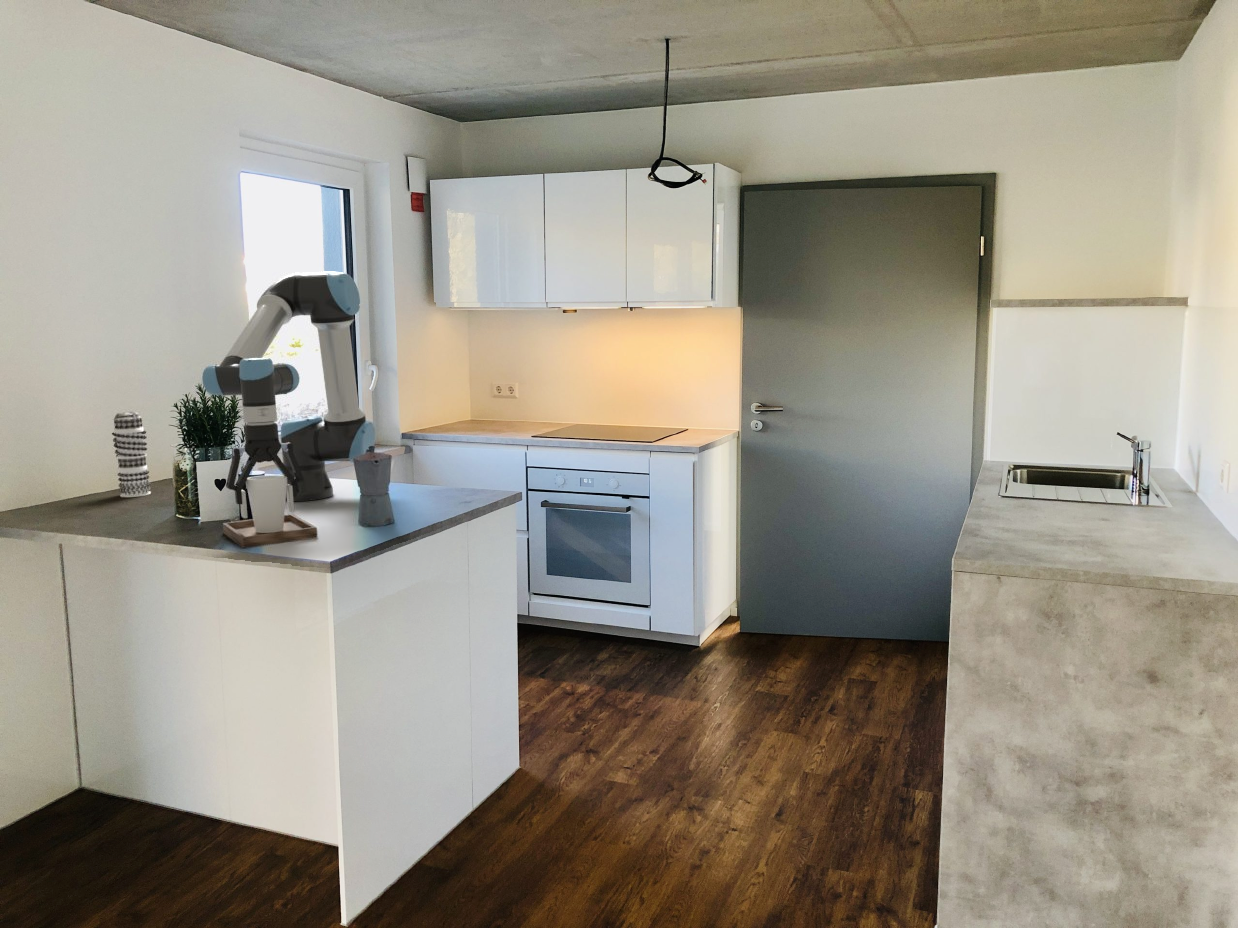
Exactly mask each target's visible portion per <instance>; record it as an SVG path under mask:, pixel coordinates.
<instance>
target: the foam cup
mask: <svg viewBox="0 0 1238 928" xmlns="http://www.w3.org/2000/svg"><path fill="white" fill-rule="evenodd" d="M245 486H246V487H245V489H247V493H248V499H249V505H250V509H251V515H252V519H253V521H254V526H255V529H256V532H258V533H272V532H279V531H282V530H283V527H284V515H286V514H285V513H286V503H287V501H286V491H287V486H288V480H287V477H286V476H284V475H283V474H270V475H269V474H267V475H266V474H265V475H255V476H248V478H247V480H246V482H245Z"/></svg>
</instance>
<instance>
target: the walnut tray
mask: <svg viewBox="0 0 1238 928" xmlns="http://www.w3.org/2000/svg"><path fill="white" fill-rule="evenodd" d="M222 533H223V534H224V535H225V536H226V537H228V538H229V539H230V540H232V541H233V542H234V543H235V544H237V545H238V546H239V547H241V548H242V549H250V548H258V547H262V546H268V545H269V546H270V545H276V544H282V543H283V544H284V543H289V542H290V543H291V542H297V541H303V540H310V539H317V538H318V528H317V526H315V525H314V524H312V523H309V522H308V521H307V520H305V519H302V518H301V517H300V516H299V517H298V516H297V515H296V514H294V513H288V514H285V515H284V527H283V530H282V531H279V532H272V533H258V532H256V529H255V526H254V521H253V518H252V519H251V518H250V519H243V520H237V521H228V522H223V523H222Z"/></svg>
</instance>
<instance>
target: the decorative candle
mask: <svg viewBox="0 0 1238 928" xmlns="http://www.w3.org/2000/svg"><path fill="white" fill-rule="evenodd" d="M142 419H143V416H140V414H139V413H138V412H136V411H127V412H126V411H125V412H118V413H116V414H115V416H114V418H112V420H113V425H114V428H113V429H114V432H112V433H111V435H112V436H113V437H114V438H113V439H112V441H113V442H114V443H113V447H114V448H116V449H115V450H114V453H115V454H116V456H115V458H116V459H117V463H118V469H117V470H118V473H117V476H118V477H119V478H118V479H117V480H118V481H119V482H120V483H118V487H119V492H118V493H120V495H119V496H120V497H121V498H136V497H137V498H138V497H144V496H148V495H151V493H152V491H150V490H151V486H150V485H151V482H150V480H149V479H150V476H149V475H148V474H149V473H150V471H149V470H148V465H147V459H146V457H147V456H148V454H147V453H146V451H147V450H148V448H147V447H145V446H146V445H147V444H148V443H147V442H145V441H144V440H146V439H147V435H145V434H147V431H146V430H145V429H144V426H143V420H142Z"/></svg>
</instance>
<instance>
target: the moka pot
mask: <svg viewBox="0 0 1238 928" xmlns="http://www.w3.org/2000/svg"><path fill="white" fill-rule="evenodd" d="M368 448H369V450H368V449H367V450H366V454H362V455H358V456H356V457H355V458H353V462H352V463H353V467H354V471H355V477H356V482H357V486H358V488H359V494H360V496H359V506H358V519H357V523H358V524H359V525H360V526H363V527H382V526H387V525H390V524H392V523H394V522H395V516H394V510H393V506H392V502H391V496H390V493H389V491H390V488H389V487H390V484H391V471H392V459H393V457H392V455H391V454H388V453H383V452H377V451H376V450H375V448H376V447H375V445H374V446H370V447H368ZM375 451H376V452H375Z"/></svg>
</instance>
